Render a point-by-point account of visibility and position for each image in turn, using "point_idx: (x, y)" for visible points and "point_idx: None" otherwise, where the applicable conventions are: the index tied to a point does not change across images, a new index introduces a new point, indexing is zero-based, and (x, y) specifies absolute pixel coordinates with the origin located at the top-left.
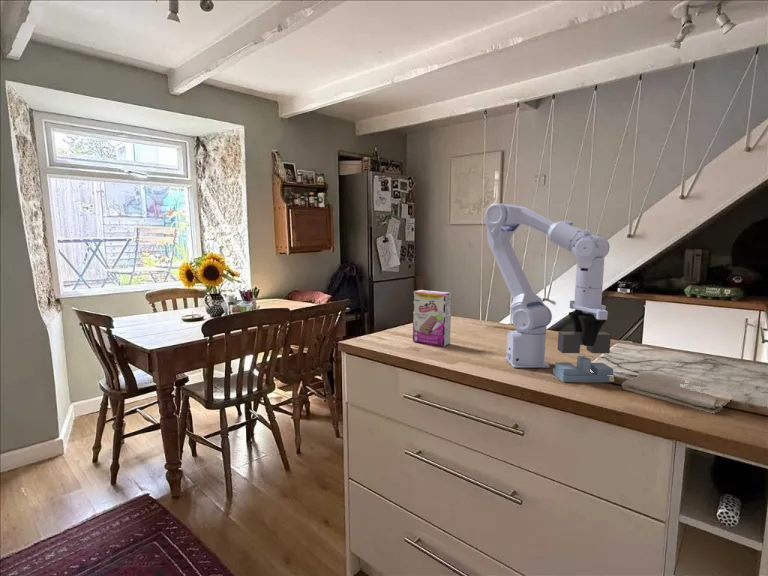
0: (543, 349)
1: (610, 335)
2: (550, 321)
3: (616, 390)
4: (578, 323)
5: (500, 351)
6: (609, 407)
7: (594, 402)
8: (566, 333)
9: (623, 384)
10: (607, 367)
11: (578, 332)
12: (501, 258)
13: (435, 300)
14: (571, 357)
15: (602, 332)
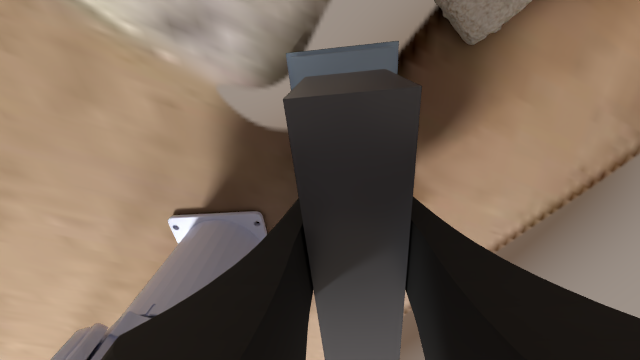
0: (229, 267)
1: (420, 89)
2: (84, 350)
3: (477, 74)
4: (302, 352)
5: (131, 286)
6: (602, 162)
7: (554, 187)
8: (372, 352)
9: (479, 39)
10: (368, 65)
11: (341, 297)
12: None
13: None
14: (91, 96)
15: (326, 134)
